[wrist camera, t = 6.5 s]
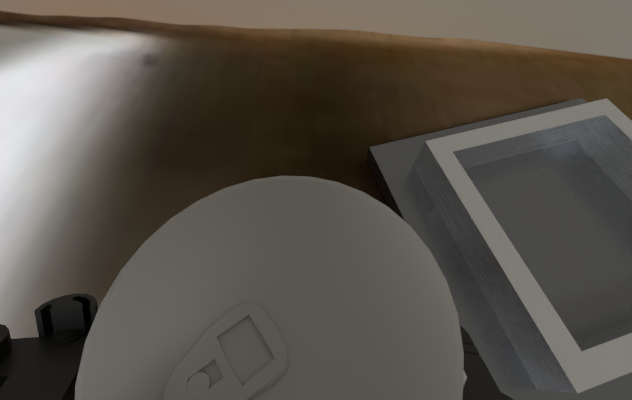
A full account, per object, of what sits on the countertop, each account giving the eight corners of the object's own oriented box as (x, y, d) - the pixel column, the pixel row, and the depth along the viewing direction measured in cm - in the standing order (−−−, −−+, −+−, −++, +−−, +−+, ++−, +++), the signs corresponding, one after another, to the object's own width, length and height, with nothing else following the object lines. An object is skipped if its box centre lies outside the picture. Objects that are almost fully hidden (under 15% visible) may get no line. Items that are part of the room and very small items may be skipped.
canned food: (192, 366, 15) (-13, 372, 6) (292, 250, 18) (268, 125, 9) (308, 489, 13) (292, 843, 3) (400, 333, 16) (527, 289, 6)
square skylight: (366, 160, 22) (375, 121, 19) (568, 112, 25) (609, 70, 21) (504, 459, 14) (568, 490, 10) (788, 340, 16) (917, 333, 13)
